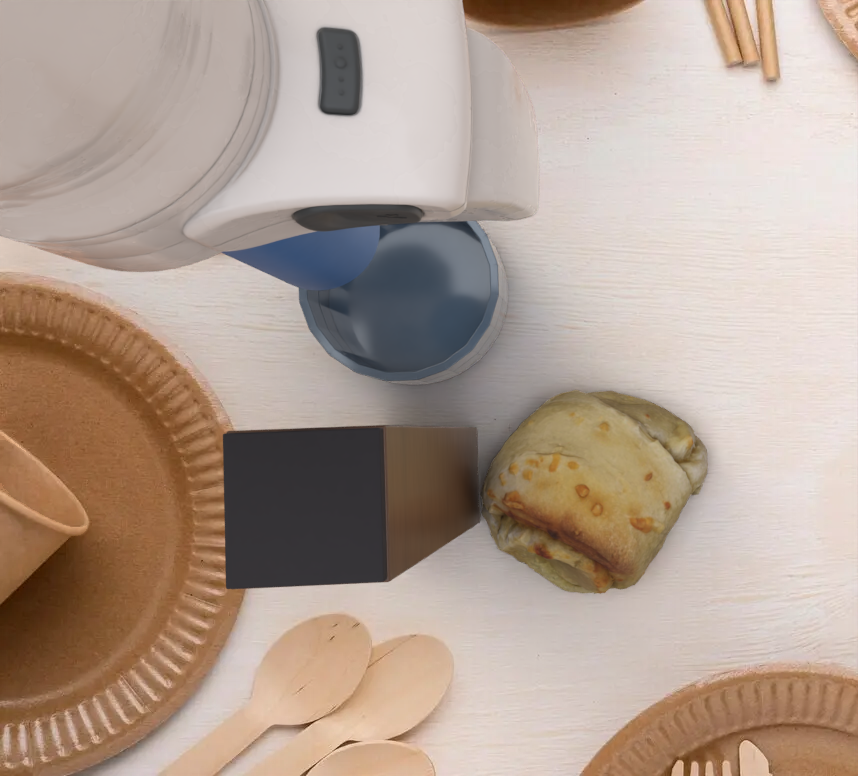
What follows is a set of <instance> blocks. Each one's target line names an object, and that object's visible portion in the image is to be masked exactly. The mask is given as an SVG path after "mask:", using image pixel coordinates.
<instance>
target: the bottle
mask: <svg viewBox="0 0 858 776" xmlns="http://www.w3.org/2000/svg"><path fill="white" fill-rule="evenodd" d="M379 237H380V225H376V226H365V227H356V228H348V229H341V230H335V231H326V232H320V231H316V232H312V233H307V234H302V235H298V236H294V237H290V238H286V239H282V240H279V241H275V242H272V243H268V244H264V245H261V246H257V247H253V248H248V249H243V250H237V251H228V252H221V253H220V254H223V255H225V256H227V257H230V258H232V259H234V260H236V261H239V262H241V263H242V264H245V265H247V266H250V267H251V268H253V269H256V270H258V271H260V272H263V273H264V274H267V275H269V276H271V277H274V278H275V279H278V280H279V281H282V282H284V283H287V284H289V285H291V286H292V287H296V288H298V289H299V288H302V289H307V290H319V291H320V290H329V289H333V288H337V287H340V286H342V285H345V284H347V283H348V282H350V281H352V280H353V279H355V278H356V277H357V276H359V275H360V274H361V273H362V272H363V271H364V270H365V269H366V267H367V266H368V265H369V263H370V262H371V260H372V259H373V257H374V254H375V252H376V249H377V246H378V242H379Z"/></svg>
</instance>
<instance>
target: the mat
mask: <svg viewBox="0 0 858 776" xmlns="http://www.w3.org/2000/svg"><path fill="white" fill-rule="evenodd" d="M222 457H223V458H222V459H223V460H222V461H223V462H222V463H223V464H222V465H223V468H222V469H223V513H224V514H223V517H224V518H223V519H224V561H225V563H224V564H225V589H226V590H244V589H243V588H253V589H265V588H264V587H274V588H287V587H286V586H296V587H308V586H307V585H317V586H329V585H328V584H338V585H351V584H350V583H360V584H372V583H371V582H381V583H384V582H383V581H385V580H387V560H386V523H385V485H384V447H383V428H358V429H331V430H304V431H277V432H250V433H227V432H225V433H223V434H222Z"/></svg>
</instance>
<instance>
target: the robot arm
mask: <svg viewBox="0 0 858 776" xmlns="http://www.w3.org/2000/svg"><path fill="white" fill-rule="evenodd" d="M464 9H465V8H464V3H463V0H0V237H2V238H4V239H8V240H11V241H14V242H17V243H19V244H23V245H26V246H29V247H33V248H36V249H38V250H42V251H44V252H47V253H50V254H53V255H57V256H59V257H63V258H67V259H68V260H69V259H70V260H72V261H76V262H78V263H82V264H85V265H88V266H92V267H96V268H100V269H103V270H111V271H118V272H128V273H151V272H153V273H154V272H163V271H169V270H176V269H181V268H183V267H189V266H192V265H194V264H198V263H201V262H203V261H205V260H209V259H211V258H213V257H215V256H217V255H219V254H222V253H221V252H228V251H237V250H243V249H248V248H253V247H257V246H261V245H264V244H268V243H272V242H275V241H279V240H282V239H286V238H290V237H294V236H298V235H302V234H307V233H312V232H316V231H320V232H326V231H335V230H341V229H348V228H356V227H365V226H376V225H389V224H405V223H416V222H452V221H477V222H516V221H521V220H525V219H529V218H532V217H534V216H536V215H537V213H538V211H539V208H540V200H541V199H540V194H541V193H540V191H541V188H540V180H541V179H540V151H539V150H540V149H539V135H538V123H537V117H536V116H537V115H536V111H535V107H534V105H533V101H532V98H531V96H530V94H529V91H528V90H527V87H526V84H525V83H524V81H523V80H522V77H521V75H520V74H519V72H518V71H517V69H516V67H515V65H514V64H513V63H512V60H511V59H510V58H509V57H508V55H507V54H506V53H505V51H504V50H503V49H502V48H501V47H500V46H499V45H498V44H497V43H495V42H494V41H493V40H492V39H491V38H489V37H488V36H487V35H485V34H483V33H482V32H480V31H477V30H475V29H473V28H471V27H468V26H467V21H466V15H465V10H464Z"/></svg>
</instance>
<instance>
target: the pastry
mask: <svg viewBox="0 0 858 776" xmlns="http://www.w3.org/2000/svg"><path fill="white" fill-rule="evenodd" d="M708 467H709V461H708V450H707V447H706V445H705V443H703V441H702V439H700V438H699V437H698V436H697V435H696V434H695V429H694V428H693V426H691V425H690V424H689V422H686V421H685V420H683V419H682V418H680V417H679V416H677V415H676V414H674V413H672V412H671V411H669V410H668V409H666V408H664V407H662V406H661V405H658V404H657V403H654V402H651V401H650V400H646V399H644V398H640V397H637V396H634V395H633V396H632V395H628V394H624V393H620V392H617V391H614V390H600V391H592V392H591V391H590V392H587V393H586V392H584V391H580V390H579V389H573V390H570V391H565V392H561V393H558V394H556V395H554V396H552V397H550V398H548V399H547V400H546V401H545V402H544V403H543V404H541V405H540V406H539V407H538V408H537V409H536V410H534V412H533V413H531V414H530V415H529V416H528V417H527V418H526V419H523V420H522V422H521V423H520V424H519V426H518V427H517V429H516V430H515V431H514V432H512V434H511V435H510V436H509V437H508V438H507V439H506V441H505V442H504V443H503V445H502V447H501V449H500V450H499V451H498V453H497V454H496V455H495V456H494V458H493V460H492V461H491V463H490V465H489V467H488V469H487V471H486V474H485V477H484V480H483V483H482V485H481V488H480V491H479V497H480V498H481V501H482V502H481V503H482V505H481V511H480V514H481V515H482V517H483V518H484V520H485V521H486V523H487V526H488V529H489V532H490V536H491V538H492V539H493V540H494V543H495V545H496V548H497V550H499V551H500V552H503V553H505V554H508V555H509V556H512V557H513V558H514V559H515V560H516V561H517V562H520V563H523V564H525V565H527V567H528V568H529V569H531V570H533V571H534V572H535V573H537V574H539V575H540V576H541V577H543V578H544V579H545V580H547V581H548V582H549V583H551V584H552V585H554V586H556V587H558V588H559V589H561V590H562V591H564V592H568V593H579V594H594V595H595V594H600V595H601V594H605V593H607V592H608V591H609V590H612V589H616V590H626V589H629V588H631V587H633V586H636V585H637V583H638V582H639V581H640V580H641V579H642V577H643V576H644V575H645V573H646V571H647V569H648V568H649V566H650V564H651V563H652V562H653V560H654V559H655V558H656V557H657V556H658V554H659V553H660V552H661V550H662V548H663V546H664V544H665V541H666V539H667V537H668V535H669V533H670V532H671V530H672V528H674V526H675V524H676V523H677V522H678V520H679V518H680V516H681V513H682V511H683V509H684V508H685V506H686V505H687V502H688V500H689V498H690V497H691V496H698V495H700V492H701V490H702V488H703V486H704V483H705V480H706V477H707V475H708V470H709V468H708Z"/></svg>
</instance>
